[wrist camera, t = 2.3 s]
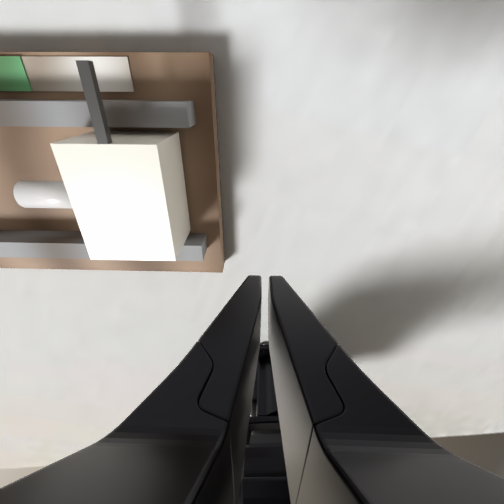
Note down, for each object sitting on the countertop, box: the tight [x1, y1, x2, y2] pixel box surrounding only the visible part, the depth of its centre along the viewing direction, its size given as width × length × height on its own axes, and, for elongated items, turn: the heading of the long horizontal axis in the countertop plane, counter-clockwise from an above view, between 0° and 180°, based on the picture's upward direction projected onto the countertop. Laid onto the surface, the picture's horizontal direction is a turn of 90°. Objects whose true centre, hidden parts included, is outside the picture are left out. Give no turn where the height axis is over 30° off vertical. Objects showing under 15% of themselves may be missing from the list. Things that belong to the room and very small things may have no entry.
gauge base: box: [0, 52, 225, 272], centre depth 17 cm, size 24×14×6 cm, turn 90°
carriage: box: [13, 60, 191, 261], centre depth 15 cm, size 9×10×4 cm
